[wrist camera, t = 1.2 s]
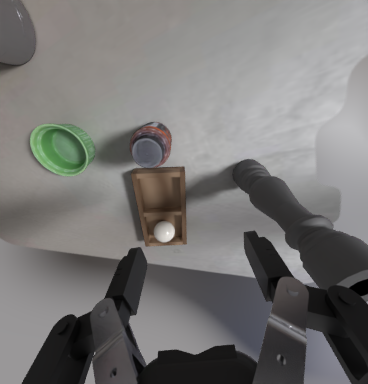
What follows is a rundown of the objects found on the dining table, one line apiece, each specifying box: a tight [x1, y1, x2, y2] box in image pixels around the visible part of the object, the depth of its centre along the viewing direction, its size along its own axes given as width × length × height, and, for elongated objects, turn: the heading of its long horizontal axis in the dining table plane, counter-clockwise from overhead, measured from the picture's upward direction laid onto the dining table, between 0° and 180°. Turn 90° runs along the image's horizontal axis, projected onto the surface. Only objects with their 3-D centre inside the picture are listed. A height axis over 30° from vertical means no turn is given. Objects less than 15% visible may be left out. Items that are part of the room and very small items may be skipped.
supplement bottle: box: [130, 122, 172, 168], centre depth 26 cm, size 6×6×11 cm
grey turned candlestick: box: [233, 159, 368, 302], centre depth 24 cm, size 6×6×25 cm
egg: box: [154, 221, 175, 242], centre depth 38 cm, size 5×5×5 cm
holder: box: [131, 167, 187, 246], centre depth 37 cm, size 10×20×3 cm, turn 1°
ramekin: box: [30, 124, 95, 176], centre depth 29 cm, size 9×9×4 cm
